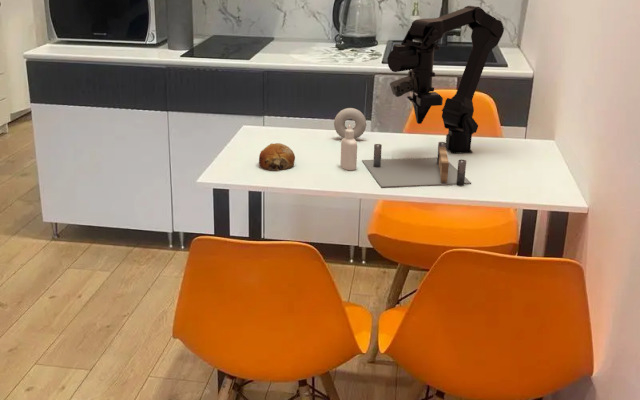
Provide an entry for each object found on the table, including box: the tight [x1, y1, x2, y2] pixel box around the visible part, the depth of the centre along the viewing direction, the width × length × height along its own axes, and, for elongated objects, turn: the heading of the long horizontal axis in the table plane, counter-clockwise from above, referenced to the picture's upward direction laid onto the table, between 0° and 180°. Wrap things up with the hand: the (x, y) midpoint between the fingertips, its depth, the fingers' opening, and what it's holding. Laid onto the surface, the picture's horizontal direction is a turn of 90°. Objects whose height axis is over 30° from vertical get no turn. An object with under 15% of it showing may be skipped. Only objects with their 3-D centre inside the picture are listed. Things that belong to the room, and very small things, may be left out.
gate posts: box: [373, 141, 467, 187], centre depth 190 cm, size 20×18×6 cm
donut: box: [333, 107, 367, 140], centre depth 221 cm, size 10×4×10 cm, turn 84°
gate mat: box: [361, 156, 472, 189], centre depth 194 cm, size 24×22×1 cm
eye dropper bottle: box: [340, 124, 358, 171], centre depth 195 cm, size 4×6×12 cm
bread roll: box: [258, 142, 296, 171], centre depth 197 cm, size 10×10×8 cm
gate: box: [439, 147, 450, 182], centre depth 190 cm, size 15×2×5 cm, turn 174°
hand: (419, 123), depth 201 cm, fingers closed
